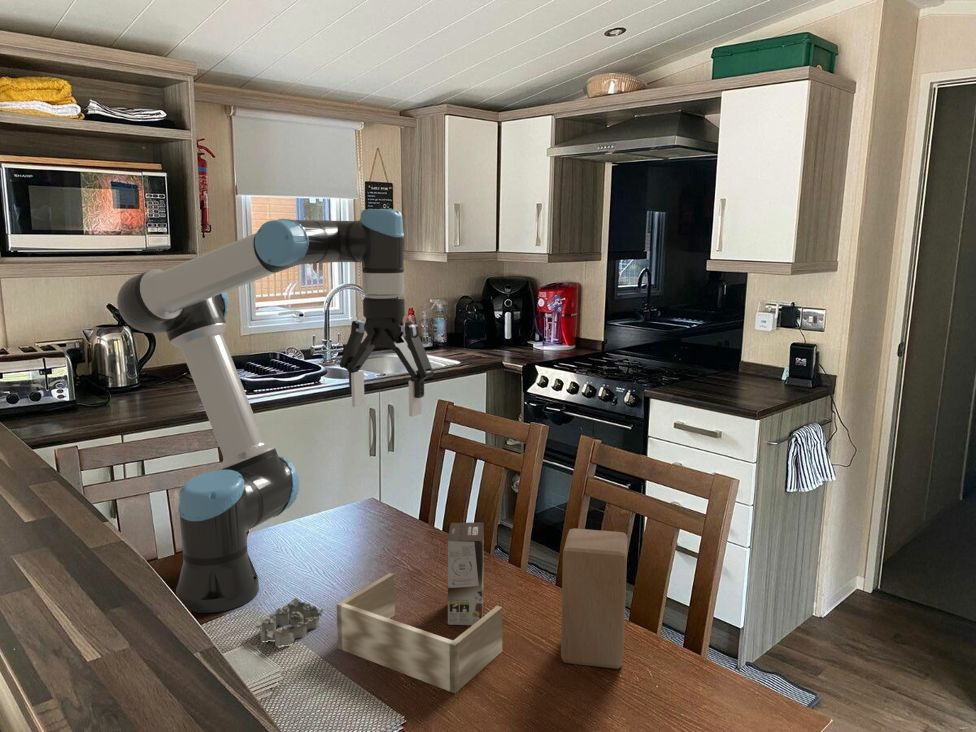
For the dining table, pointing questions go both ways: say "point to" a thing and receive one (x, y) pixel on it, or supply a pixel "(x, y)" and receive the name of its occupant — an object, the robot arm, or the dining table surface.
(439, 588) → the dining table surface
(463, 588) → the coffee box
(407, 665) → the wooden u-shaped frame
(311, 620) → the egg carton
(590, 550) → the block
